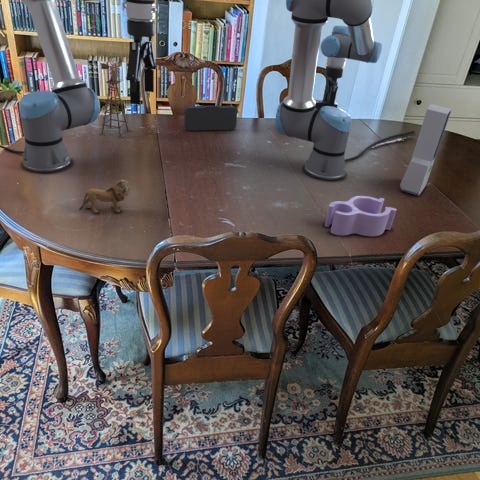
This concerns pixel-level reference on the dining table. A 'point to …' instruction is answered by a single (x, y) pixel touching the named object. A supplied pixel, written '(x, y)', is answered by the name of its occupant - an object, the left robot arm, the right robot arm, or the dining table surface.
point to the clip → (359, 216)
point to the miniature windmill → (112, 82)
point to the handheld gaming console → (210, 118)
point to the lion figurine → (107, 195)
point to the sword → (389, 142)
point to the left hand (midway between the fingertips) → (142, 97)
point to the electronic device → (425, 149)
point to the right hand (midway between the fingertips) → (324, 121)
